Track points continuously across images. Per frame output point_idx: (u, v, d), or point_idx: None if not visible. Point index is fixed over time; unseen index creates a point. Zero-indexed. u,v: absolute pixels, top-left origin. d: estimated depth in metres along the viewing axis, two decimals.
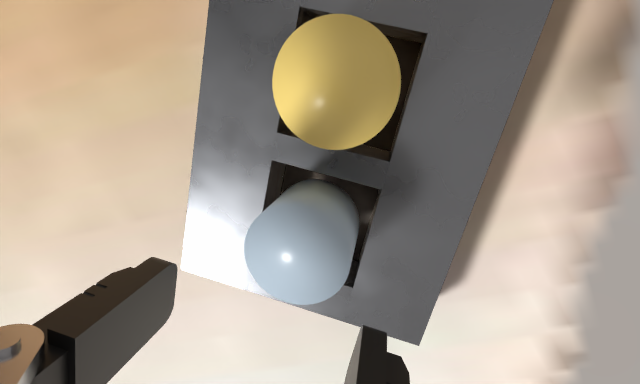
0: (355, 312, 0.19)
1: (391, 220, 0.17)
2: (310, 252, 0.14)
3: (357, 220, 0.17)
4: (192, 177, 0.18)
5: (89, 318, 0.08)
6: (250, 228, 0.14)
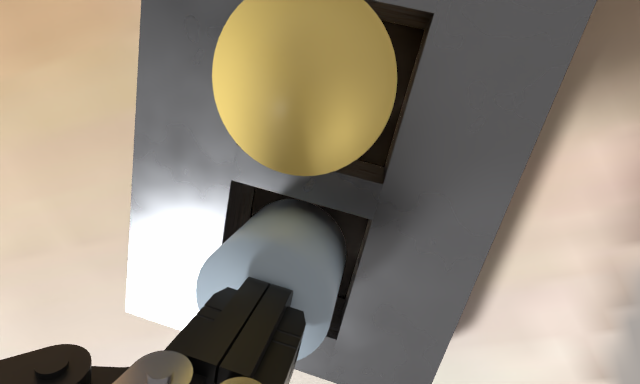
0: (340, 369, 0.15)
1: (385, 259, 0.13)
2: None
3: (343, 250, 0.14)
4: (133, 200, 0.14)
5: (220, 343, 0.08)
6: (202, 269, 0.11)
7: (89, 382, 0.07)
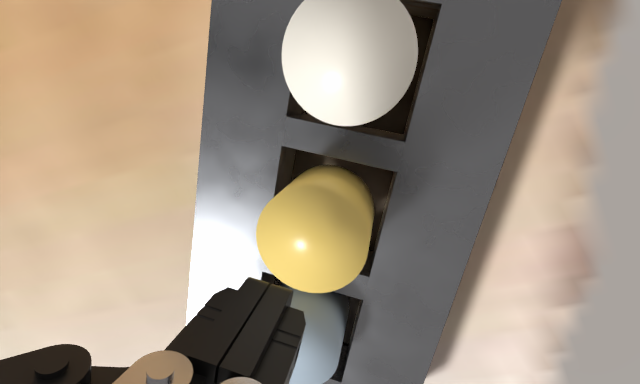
0: None
1: (374, 326, 0.18)
2: (306, 348, 0.17)
3: (346, 306, 0.20)
4: (191, 283, 0.20)
5: (220, 343, 0.08)
6: None
7: (89, 382, 0.07)
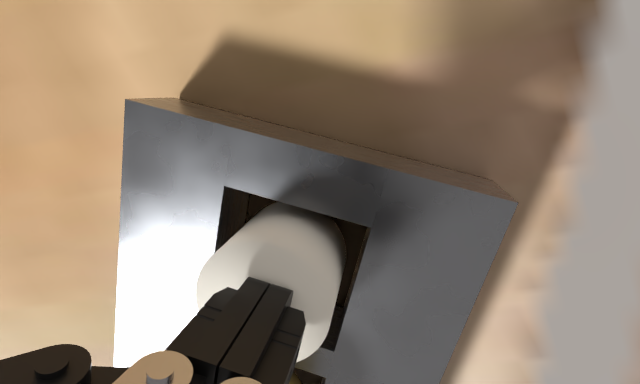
0: None
1: None
2: None
3: None
4: None
5: (220, 343, 0.08)
6: None
7: (89, 382, 0.07)
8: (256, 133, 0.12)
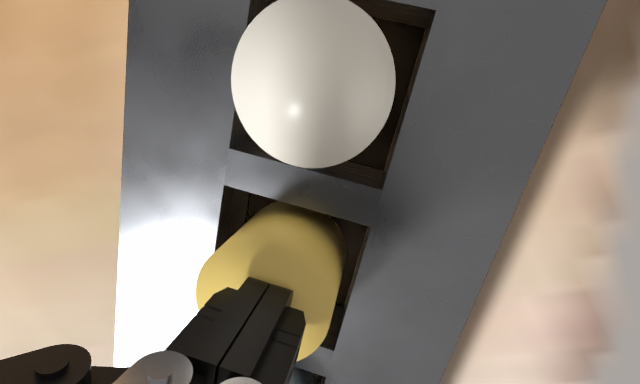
0: None
1: None
2: None
3: (309, 373, 0.17)
4: (116, 342, 0.16)
5: (220, 343, 0.08)
6: None
7: (89, 382, 0.07)
8: None
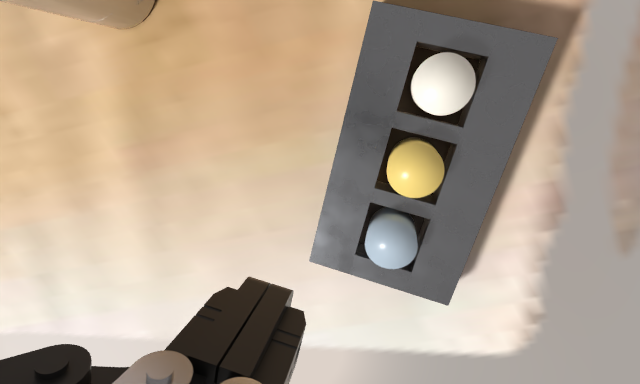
0: (412, 286, 0.33)
1: (435, 235, 0.31)
2: (398, 243, 0.30)
3: (415, 228, 0.33)
4: (322, 209, 0.33)
5: (220, 343, 0.08)
6: (369, 232, 0.31)
7: (89, 382, 0.07)
8: (436, 13, 0.27)
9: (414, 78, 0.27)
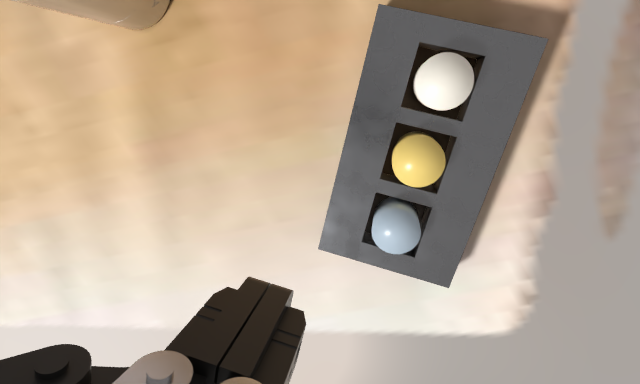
0: (415, 270, 0.35)
1: (436, 222, 0.34)
2: (402, 230, 0.33)
3: None
4: (331, 200, 0.35)
5: (219, 343, 0.08)
6: (375, 219, 0.33)
7: (89, 382, 0.07)
8: (437, 16, 0.29)
9: (417, 76, 0.29)
